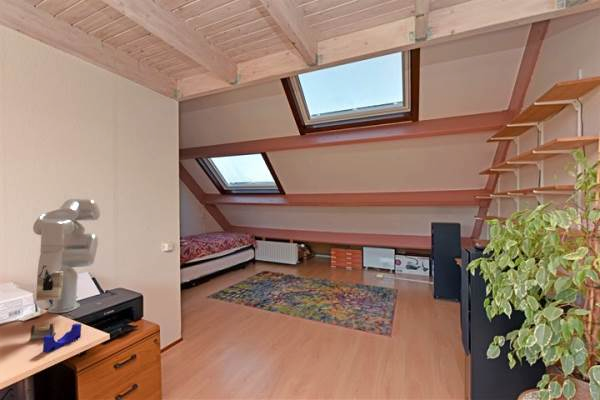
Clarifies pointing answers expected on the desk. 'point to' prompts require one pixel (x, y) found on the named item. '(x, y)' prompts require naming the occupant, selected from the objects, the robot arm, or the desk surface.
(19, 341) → the desk surface
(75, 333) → the blue cradle stand
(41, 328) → the offcut rack
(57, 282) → the tan wooden block
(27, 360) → the desk surface
